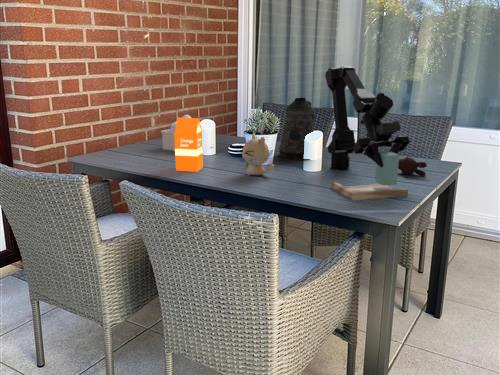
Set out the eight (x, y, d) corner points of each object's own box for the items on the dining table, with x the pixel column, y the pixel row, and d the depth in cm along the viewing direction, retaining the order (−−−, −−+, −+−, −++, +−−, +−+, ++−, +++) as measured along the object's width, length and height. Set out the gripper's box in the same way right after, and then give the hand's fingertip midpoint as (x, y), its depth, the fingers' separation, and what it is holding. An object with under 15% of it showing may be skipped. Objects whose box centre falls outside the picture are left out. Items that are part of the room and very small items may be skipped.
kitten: (235, 170, 193) (235, 132, 189) (259, 168, 196) (260, 131, 192) (249, 180, 179) (249, 139, 175) (275, 177, 183) (275, 137, 179)
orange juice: (197, 171, 192) (196, 119, 186) (175, 170, 193) (173, 118, 188) (203, 167, 199) (202, 116, 193) (182, 165, 201) (180, 116, 195)
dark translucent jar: (277, 159, 213) (278, 100, 206) (280, 150, 231) (281, 95, 224) (316, 160, 211) (318, 100, 204) (316, 151, 229) (318, 96, 222)
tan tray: (331, 189, 169) (332, 181, 168) (382, 184, 174) (383, 177, 173) (352, 201, 155) (353, 194, 154) (407, 196, 160) (408, 189, 159)
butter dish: (214, 147, 238) (214, 114, 234) (191, 153, 224) (189, 118, 219) (186, 143, 247) (184, 111, 243) (161, 149, 233) (159, 115, 228)
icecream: (384, 157, 188) (423, 166, 180) (391, 149, 193) (430, 157, 185) (383, 173, 191) (421, 182, 183) (390, 165, 196) (428, 173, 188)
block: (375, 181, 167) (377, 152, 164) (388, 180, 168) (390, 151, 166) (383, 185, 162) (385, 155, 160) (396, 184, 164) (399, 154, 161)
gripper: (359, 113, 160) (374, 154, 153) (409, 111, 165) (426, 151, 158) (346, 133, 170) (360, 172, 163) (394, 131, 175) (410, 169, 168)
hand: (389, 166), depth 162 cm, fingers closed on block, 5 cm apart
